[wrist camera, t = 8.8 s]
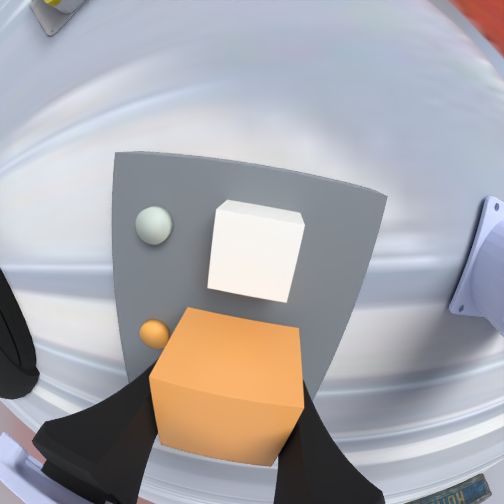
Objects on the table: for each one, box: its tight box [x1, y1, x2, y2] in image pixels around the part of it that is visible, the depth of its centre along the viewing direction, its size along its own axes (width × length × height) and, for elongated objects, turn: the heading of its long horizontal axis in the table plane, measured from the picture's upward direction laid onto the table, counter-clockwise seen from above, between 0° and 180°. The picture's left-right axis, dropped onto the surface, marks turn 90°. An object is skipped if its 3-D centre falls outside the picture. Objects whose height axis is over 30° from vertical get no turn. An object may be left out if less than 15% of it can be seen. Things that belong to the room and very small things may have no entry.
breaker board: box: [112, 151, 387, 401], centre depth 14 cm, size 12×18×4 cm, turn 171°
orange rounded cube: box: [149, 307, 304, 467], centre depth 10 cm, size 5×5×4 cm
